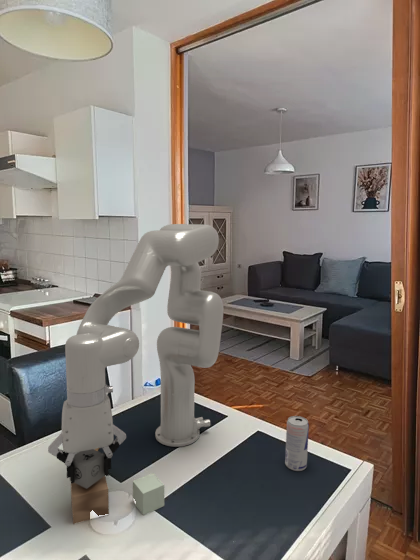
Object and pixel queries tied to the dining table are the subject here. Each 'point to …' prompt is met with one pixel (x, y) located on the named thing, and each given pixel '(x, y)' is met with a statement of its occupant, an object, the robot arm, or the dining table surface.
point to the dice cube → (88, 467)
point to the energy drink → (296, 443)
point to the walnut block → (89, 500)
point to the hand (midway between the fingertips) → (89, 475)
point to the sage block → (148, 493)
